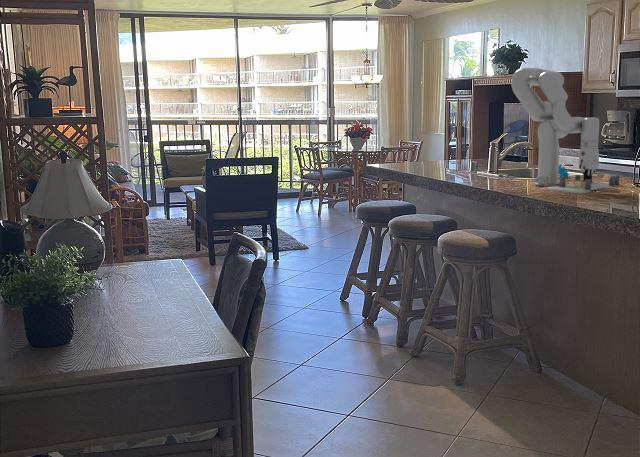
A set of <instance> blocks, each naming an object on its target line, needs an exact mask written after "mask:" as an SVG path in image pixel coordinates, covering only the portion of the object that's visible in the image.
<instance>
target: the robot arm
mask: <svg viewBox="0 0 640 457" xmlns="http://www.w3.org/2000/svg"><path fill="white" fill-rule="evenodd" d="M564 82H565V78H564V75H563V73H561V72H560V71H555V70H550V69H549V70H548V69H543V68H538V67H521V68H518V69H517V70H516V71H515V72H514V73H513V75H512V77H511V85H510V86H511V89H512V92H513V94H514V95H515V97H516V98H517V99H518V100H519V102H520V105H521V106H522V107H523V108H524V110H525V111H526V113H527V115H528V116H529V117H530V119H531V120H532V121H533V122H540V124H539V125H538V127H537V139H538V158H537V159H538V160H537V161H538V163H537V164H538V165H537V175H536V177H535V178H532V183H533V185H535V186H541V187H549V186H555V185H560V181H559V174H558V169H559V165H560V143H559V139H562V138H565V137H566V136H568V134H579V133H580V150H579V156H578V168H579V169H580V173H582V175H583V179H582V180H585V179H591V181H592V182H593V172H594V171H596V169H598V168H599V167H600V155H599V154H600V152H599V138H600V137H599V136H600V134H599V133H600V119H599V118H598V117H581V116H571V114H570V113H569V111H568V110H567V108H566V101H567V100H568V97H569V95H568V93H567V92H566V90H565V89H564V87H563V85H564V84H565V83H564ZM531 86H537V87H539V88H540V89H541V91H542V93H543V94H544V96H545V97H546V99H547V100H548V101H543V100H542V99H541V97H540V96H539V95H538V93H537V92H536V91H535V89H533V88H532V87H531ZM591 175H592V176H591Z"/></svg>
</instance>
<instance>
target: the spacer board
mask: <svg viewBox="0 0 640 457" xmlns="http://www.w3.org/2000/svg"><path fill="white" fill-rule="evenodd" d="M591 176H592V177H593V174H592V175H591ZM620 176H621V175H620V174H614V175H609V179H608V183H606V182H597V181H596V182H595V181H593V180H592V181H591V179H585V188H575V182H573V183H569V184H566V179H567V178H566V177H563V176H562V177H560V176H559V182H560V184H559V185H553V186H546V187H545V191H553V192H554V191H555V192H561V193H562V192H563V193H571V194H586V193H587V194H588V193H593V192H594V193H595V192H597V190H598V189H604V188H610V187H611V188H612V187H615V186H616V187H617V186H620ZM575 180H581V175H580V174H575V175H574V181H575Z"/></svg>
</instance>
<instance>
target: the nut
mask: <svg viewBox="0 0 640 457" xmlns="http://www.w3.org/2000/svg"><path fill="white" fill-rule="evenodd" d="M574 183H575V188H585V180H583V179H580V180H575V179H574Z"/></svg>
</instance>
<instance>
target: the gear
mask: <svg viewBox="0 0 640 457" xmlns="http://www.w3.org/2000/svg"><path fill="white" fill-rule="evenodd" d="M558 175H559V178H560V177H566V179H568V178H569V175H570V173H569V169H566V167H565V166H562V164H560V163H559V169H558Z"/></svg>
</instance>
